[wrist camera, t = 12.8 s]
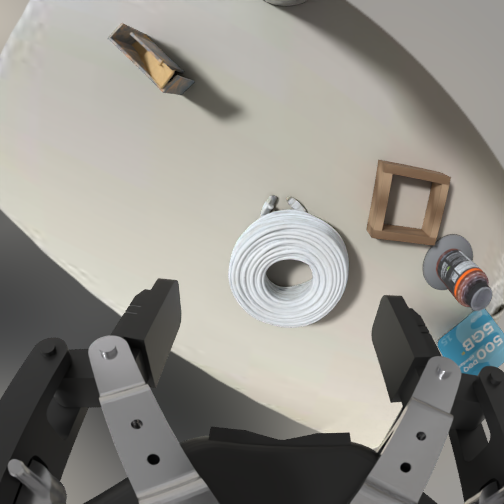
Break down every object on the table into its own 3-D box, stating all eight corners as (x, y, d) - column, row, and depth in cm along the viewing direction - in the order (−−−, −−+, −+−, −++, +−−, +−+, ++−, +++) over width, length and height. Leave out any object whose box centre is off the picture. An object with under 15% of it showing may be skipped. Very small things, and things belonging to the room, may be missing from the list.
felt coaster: (432, 230, 43) (433, 232, 42) (477, 238, 42) (479, 239, 42) (415, 286, 47) (416, 288, 47) (460, 289, 47) (461, 291, 46)
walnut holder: (378, 159, 39) (385, 163, 37) (440, 172, 39) (450, 177, 36) (366, 229, 44) (372, 238, 41) (426, 237, 43) (434, 245, 41)
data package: (481, 304, 48) (510, 342, 37) (487, 316, 49) (514, 354, 38) (435, 341, 52) (456, 384, 41) (442, 352, 53) (463, 394, 42)
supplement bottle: (462, 275, 45) (493, 312, 35) (433, 282, 46) (462, 322, 36) (464, 244, 43) (500, 277, 32) (435, 250, 44) (468, 286, 33)
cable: (275, 182, 43) (274, 193, 37) (369, 250, 46) (380, 268, 40) (211, 273, 49) (203, 294, 44) (300, 326, 52) (301, 349, 47)
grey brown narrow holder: (198, 79, 37) (176, 71, 29) (182, 95, 38) (156, 91, 30) (147, 32, 34) (116, 16, 25) (133, 47, 35) (99, 35, 26)
